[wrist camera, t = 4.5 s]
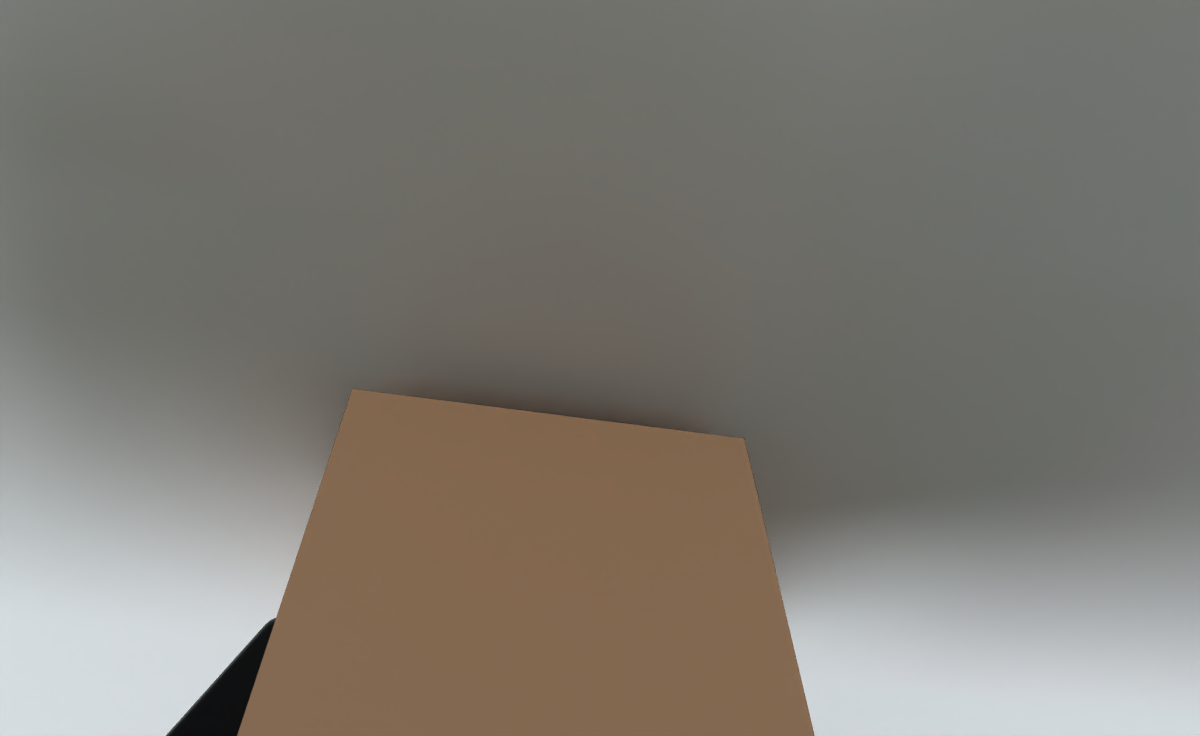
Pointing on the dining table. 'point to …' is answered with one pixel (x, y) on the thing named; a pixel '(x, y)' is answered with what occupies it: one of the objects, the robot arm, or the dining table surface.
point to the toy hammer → (528, 584)
